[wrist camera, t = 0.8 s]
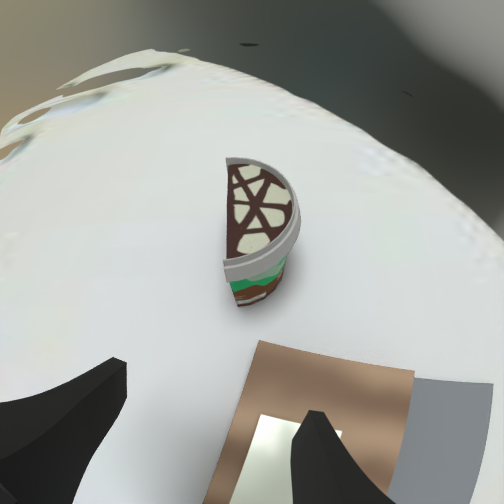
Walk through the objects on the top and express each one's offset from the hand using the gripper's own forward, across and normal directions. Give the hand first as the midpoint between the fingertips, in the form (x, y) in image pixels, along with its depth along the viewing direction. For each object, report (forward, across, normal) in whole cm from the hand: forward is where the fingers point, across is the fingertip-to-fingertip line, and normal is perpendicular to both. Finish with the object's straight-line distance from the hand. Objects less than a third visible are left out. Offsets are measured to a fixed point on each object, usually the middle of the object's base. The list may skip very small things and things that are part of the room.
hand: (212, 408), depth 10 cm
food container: (+22, -2, 0) cm, 22 cm away
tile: (+5, -6, +11) cm, 13 cm away
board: (+6, -9, +13) cm, 17 cm away
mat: (+4, -22, +11) cm, 25 cm away
